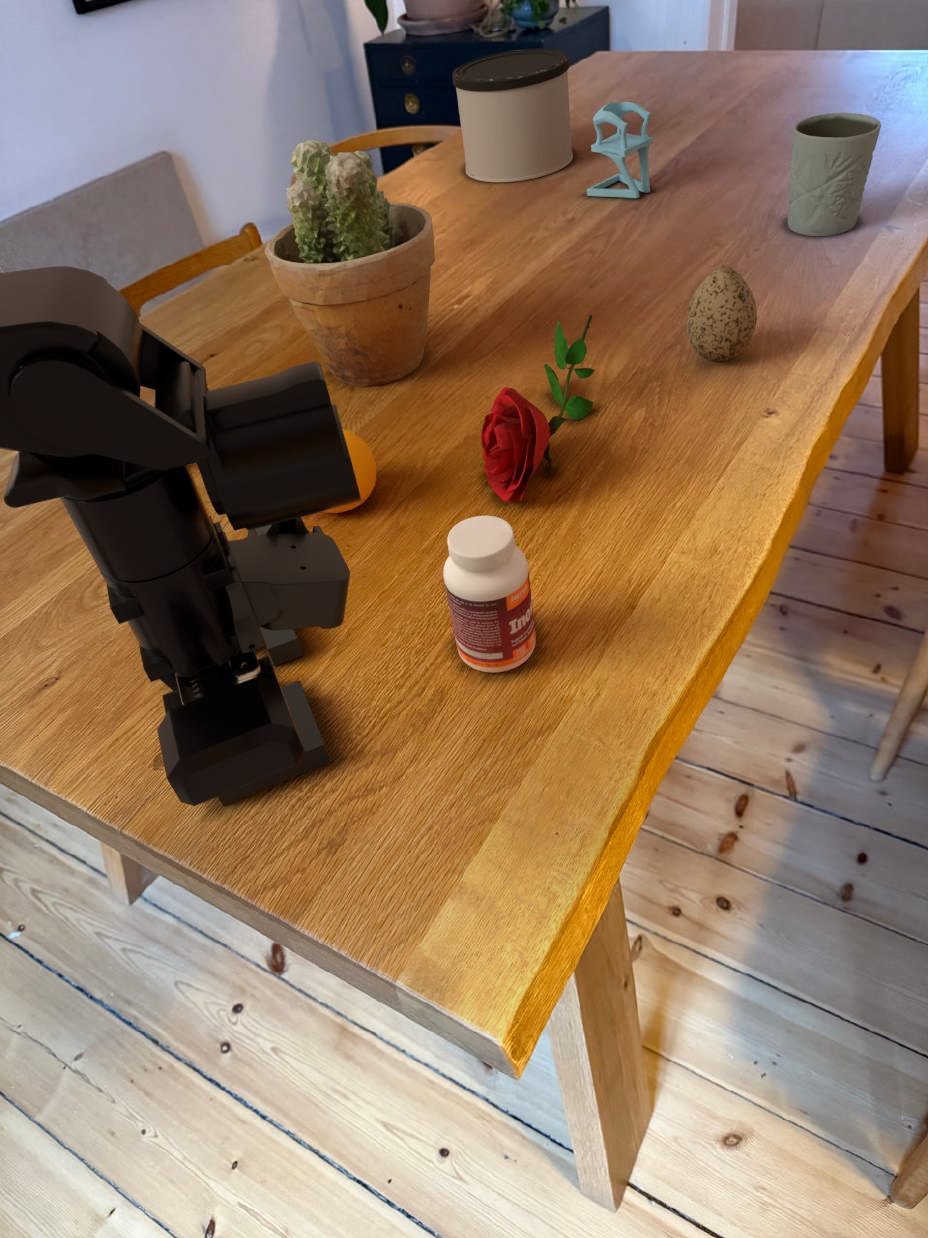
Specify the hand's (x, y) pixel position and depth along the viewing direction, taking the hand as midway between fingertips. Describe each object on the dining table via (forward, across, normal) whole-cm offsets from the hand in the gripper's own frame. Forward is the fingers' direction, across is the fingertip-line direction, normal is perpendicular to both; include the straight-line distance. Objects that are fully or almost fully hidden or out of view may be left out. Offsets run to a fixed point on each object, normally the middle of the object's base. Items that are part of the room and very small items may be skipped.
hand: (250, 745), depth 54 cm
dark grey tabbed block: (+9, +9, 0) cm, 13 cm away
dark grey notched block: (+9, +20, 0) cm, 22 cm away
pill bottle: (+9, +8, -19) cm, 23 cm away
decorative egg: (+9, +36, -58) cm, 69 cm away
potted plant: (+9, +60, -26) cm, 66 cm away
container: (+9, +114, -70) cm, 134 cm away
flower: (+9, +35, -36) cm, 51 cm away
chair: (+9, +88, -76) cm, 117 cm away
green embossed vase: (+9, +58, -89) cm, 107 cm away
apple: (+9, +34, -14) cm, 38 cm away
